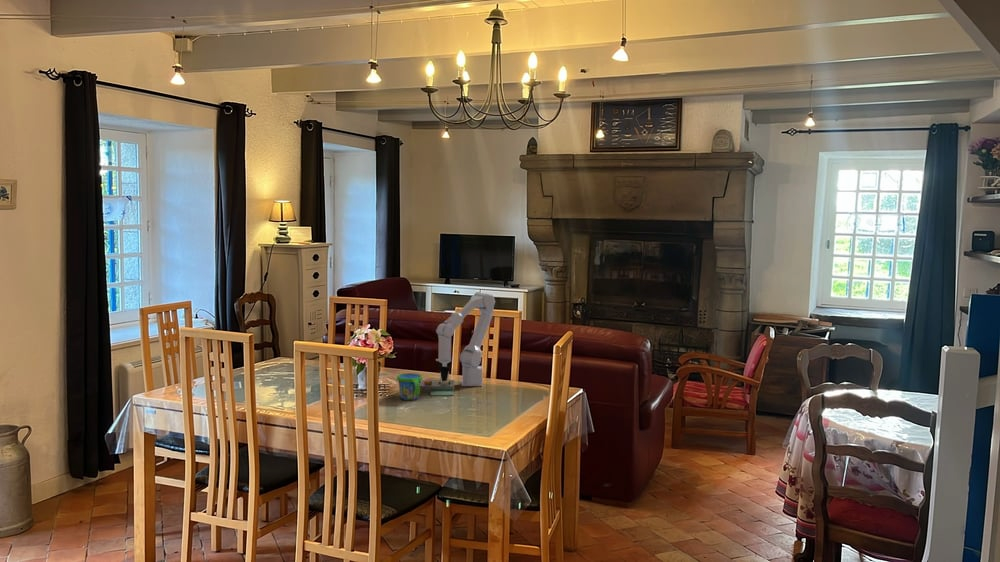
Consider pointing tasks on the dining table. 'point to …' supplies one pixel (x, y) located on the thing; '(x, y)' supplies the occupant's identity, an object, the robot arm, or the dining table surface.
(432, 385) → the housing
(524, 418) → the dining table surface
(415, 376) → the snack cup
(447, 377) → the cylinder
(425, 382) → the plunger
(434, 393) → the mat
